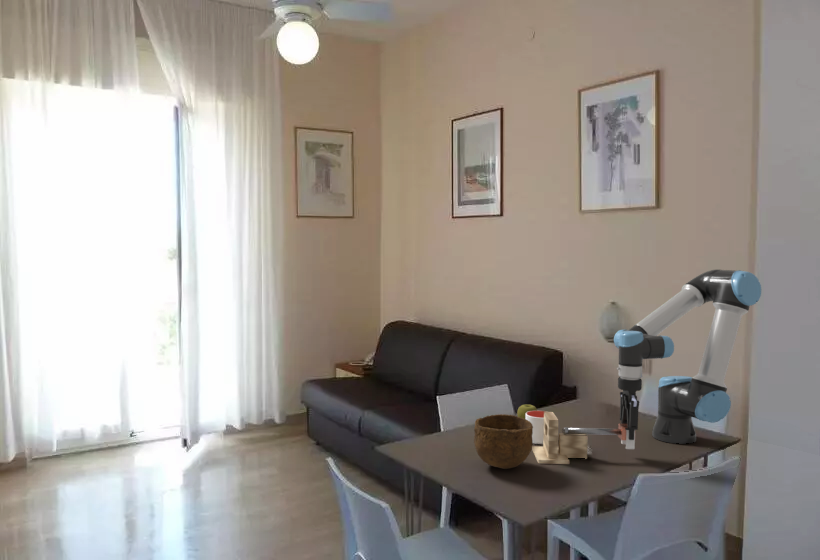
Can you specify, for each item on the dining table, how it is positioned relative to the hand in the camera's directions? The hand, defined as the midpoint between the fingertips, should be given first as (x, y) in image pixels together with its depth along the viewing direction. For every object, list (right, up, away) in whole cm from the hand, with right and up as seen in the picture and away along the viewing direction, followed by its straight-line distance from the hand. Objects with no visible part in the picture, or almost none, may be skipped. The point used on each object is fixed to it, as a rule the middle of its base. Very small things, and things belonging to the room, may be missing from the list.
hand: (627, 446), depth 216 cm
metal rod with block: (-10, +3, 0) cm, 10 cm away
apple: (-26, -2, +41) cm, 49 cm away
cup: (-26, -3, +18) cm, 32 cm away
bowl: (-43, -5, -9) cm, 44 cm away
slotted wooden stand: (-22, -4, +1) cm, 23 cm away
